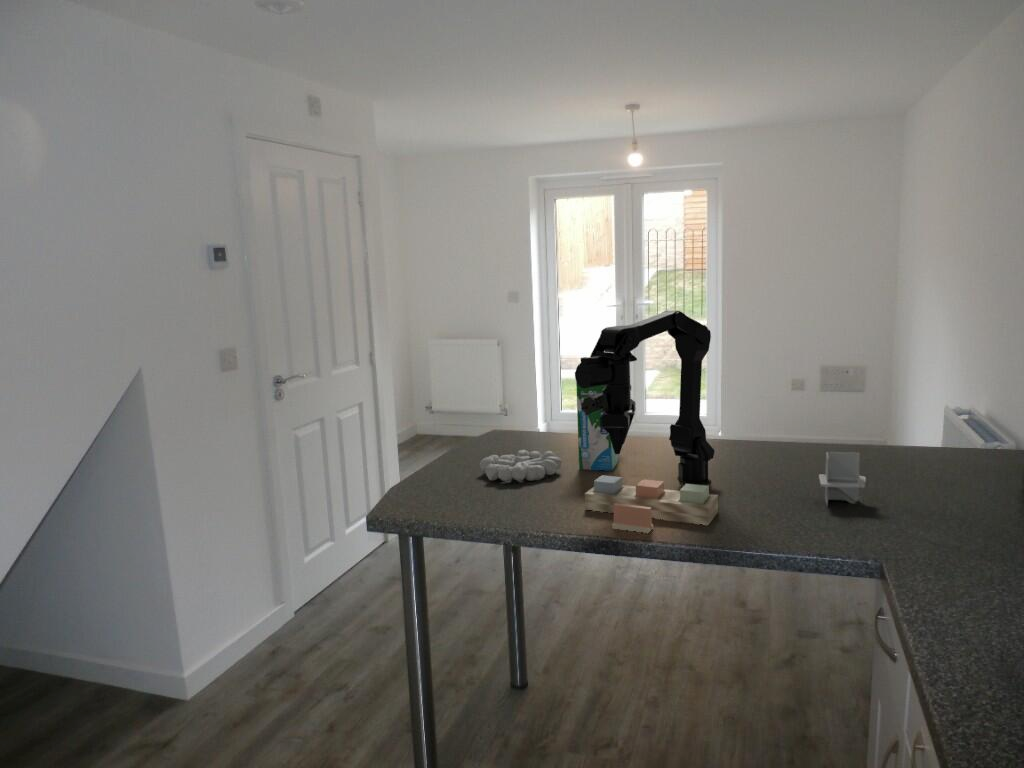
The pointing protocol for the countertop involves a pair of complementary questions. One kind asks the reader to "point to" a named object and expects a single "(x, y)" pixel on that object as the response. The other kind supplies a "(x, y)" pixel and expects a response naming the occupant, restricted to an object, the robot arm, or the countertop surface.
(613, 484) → the slate button
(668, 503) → the button panel
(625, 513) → the terracotta sign
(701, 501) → the sage button
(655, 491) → the terracotta button
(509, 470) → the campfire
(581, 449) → the milk carton
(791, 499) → the countertop surface
